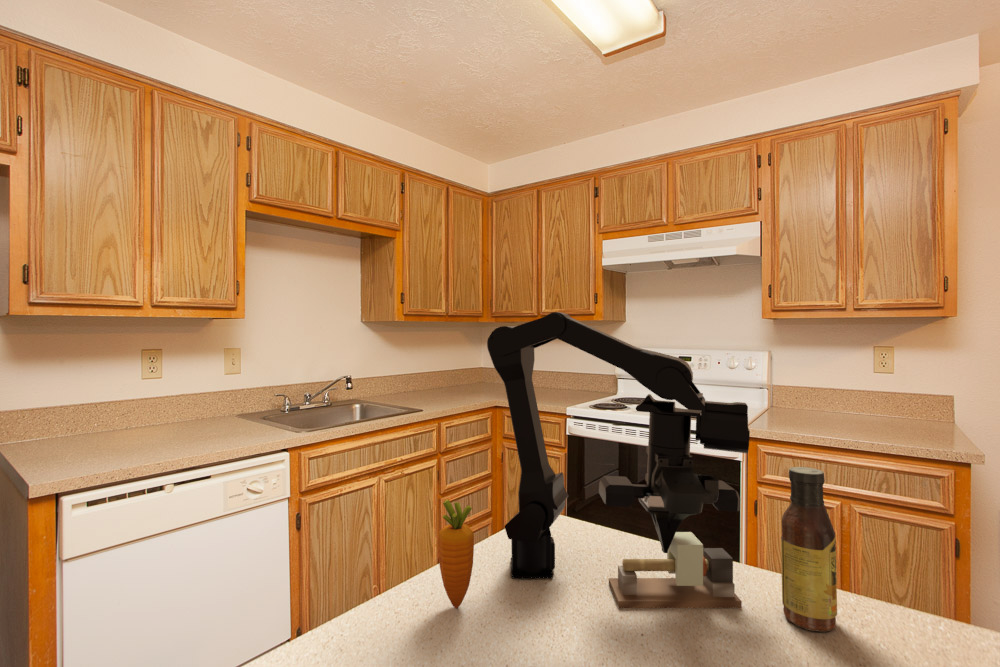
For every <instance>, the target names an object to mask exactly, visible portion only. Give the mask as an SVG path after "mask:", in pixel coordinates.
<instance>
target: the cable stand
mask: <svg viewBox="0 0 1000 667" xmlns="http://www.w3.org/2000/svg"><path fill="white" fill-rule="evenodd" d="M668 571H675V559H667V558H623V559H622V565H617V578H616V577H610V578H608V587H609V588H610V591H611V594H612V595H613V597H614V598H613V599H614V601H615V603H616V606H617V608H618V609H742V606H743V605H742V602H743V601H742V600H741V599H740V597H739V596H738V595H737V594H736V593H735V591H736V590H735V589H736V588H735V583H734V558H733V557H732V556H731V555H730V554H729V553H728V552H727V551H726V550H725V549H724V548H723V547H707V548H706V547H703V586H677V584H676V583H675V577H638V575H637V573H636V572H668Z"/></svg>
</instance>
